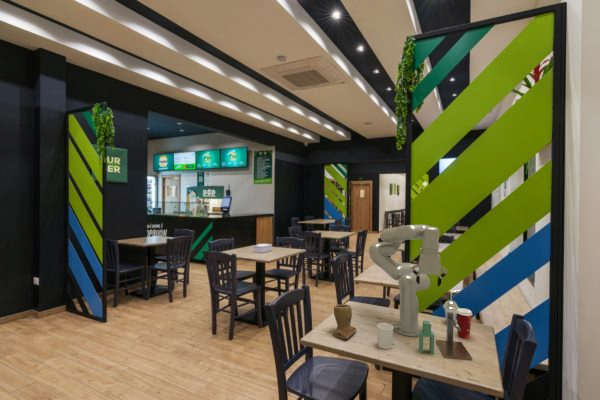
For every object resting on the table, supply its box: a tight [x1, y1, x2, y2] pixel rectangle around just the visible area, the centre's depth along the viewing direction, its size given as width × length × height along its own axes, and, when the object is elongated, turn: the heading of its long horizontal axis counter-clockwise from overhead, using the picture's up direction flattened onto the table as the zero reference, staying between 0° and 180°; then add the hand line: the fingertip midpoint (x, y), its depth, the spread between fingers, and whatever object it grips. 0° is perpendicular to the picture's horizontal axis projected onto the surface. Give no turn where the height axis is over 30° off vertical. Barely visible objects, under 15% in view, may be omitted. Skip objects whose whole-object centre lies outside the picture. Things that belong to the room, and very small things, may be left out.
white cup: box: [376, 322, 394, 350], centre depth 160 cm, size 8×8×10 cm
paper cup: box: [456, 307, 473, 340], centre depth 172 cm, size 8×8×14 cm
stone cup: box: [332, 303, 357, 340], centre depth 173 cm, size 15×12×15 cm
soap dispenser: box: [442, 289, 461, 327], centre depth 188 cm, size 8×9×20 cm
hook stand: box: [435, 312, 473, 361], centre depth 155 cm, size 12×17×16 cm
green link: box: [418, 320, 435, 355], centre depth 155 cm, size 6×4×14 cm, turn 80°
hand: (428, 284), depth 164 cm, fingers open, 9 cm apart
